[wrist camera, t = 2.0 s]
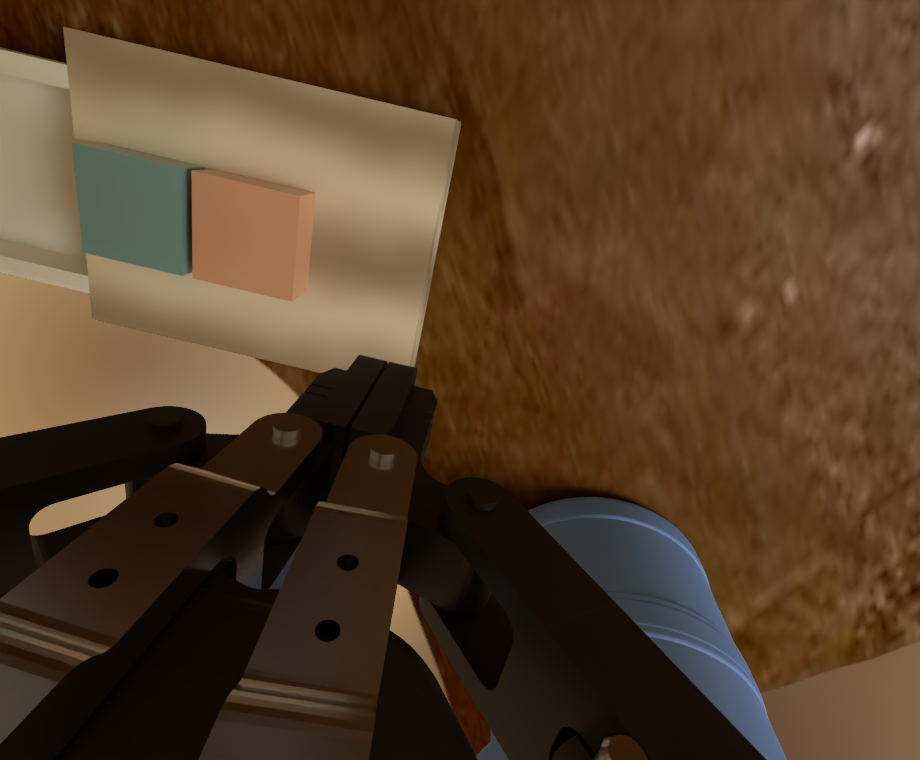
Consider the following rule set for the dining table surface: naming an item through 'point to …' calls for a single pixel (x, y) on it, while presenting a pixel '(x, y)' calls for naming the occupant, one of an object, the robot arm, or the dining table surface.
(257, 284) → the terracotta tile
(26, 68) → the box
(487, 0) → the dining table surface
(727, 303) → the dining table surface
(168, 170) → the teal tile
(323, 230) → the birch board
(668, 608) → the water jug
